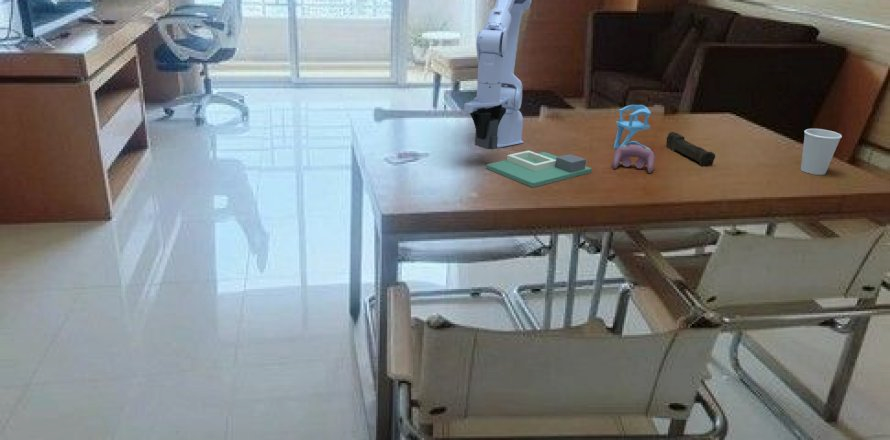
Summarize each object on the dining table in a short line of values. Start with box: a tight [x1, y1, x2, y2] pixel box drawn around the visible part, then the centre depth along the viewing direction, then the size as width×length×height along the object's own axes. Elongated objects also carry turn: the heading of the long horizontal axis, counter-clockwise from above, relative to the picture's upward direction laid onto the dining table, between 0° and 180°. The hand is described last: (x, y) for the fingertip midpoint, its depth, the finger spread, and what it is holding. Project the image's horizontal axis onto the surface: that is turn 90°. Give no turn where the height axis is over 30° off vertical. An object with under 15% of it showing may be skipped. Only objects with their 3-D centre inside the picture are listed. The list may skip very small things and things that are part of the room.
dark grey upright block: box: [474, 117, 498, 151], centre depth 163 cm, size 3×6×7 cm, turn 44°
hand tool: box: [665, 131, 716, 167], centre depth 177 cm, size 19×4×5 cm, turn 12°
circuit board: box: [485, 150, 593, 188], centre depth 161 cm, size 20×16×4 cm
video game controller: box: [612, 145, 655, 175], centre depth 165 cm, size 10×5×7 cm, turn 71°
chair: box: [613, 104, 652, 150], centre depth 180 cm, size 8×8×12 cm
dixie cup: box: [800, 128, 843, 176], centre depth 167 cm, size 8×8×10 cm
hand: (486, 137), depth 164 cm, fingers closed on dark grey upright block, 3 cm apart
